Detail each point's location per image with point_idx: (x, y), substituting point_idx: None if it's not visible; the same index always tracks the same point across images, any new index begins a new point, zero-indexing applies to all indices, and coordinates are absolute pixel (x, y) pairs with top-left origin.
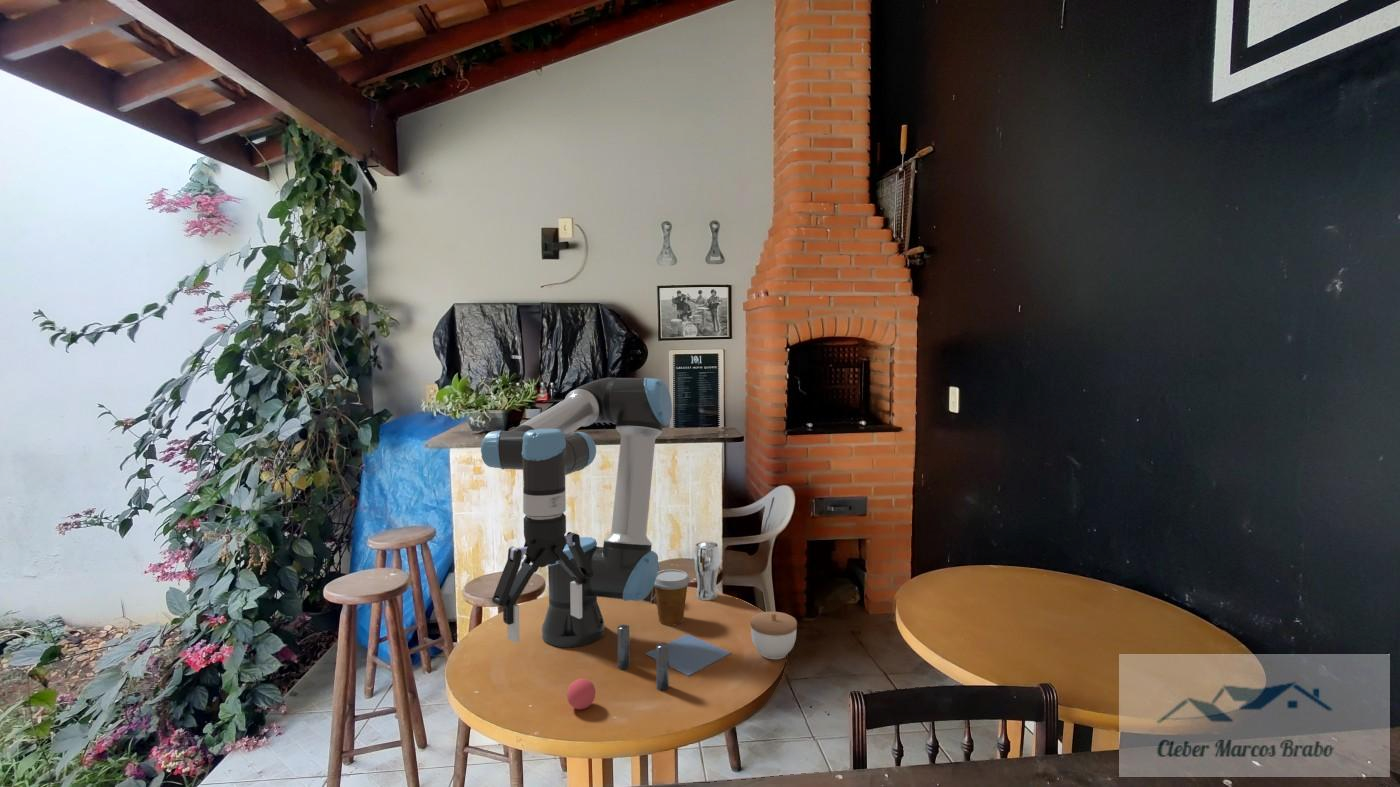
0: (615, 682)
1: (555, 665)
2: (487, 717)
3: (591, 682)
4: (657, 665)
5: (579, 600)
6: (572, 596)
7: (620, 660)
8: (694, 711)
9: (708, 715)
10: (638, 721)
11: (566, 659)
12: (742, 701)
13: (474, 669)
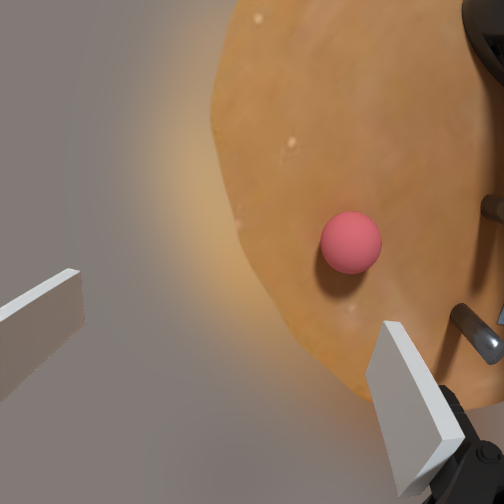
0: (443, 231)
1: (426, 76)
2: (212, 107)
3: (375, 259)
4: (471, 332)
5: (385, 431)
6: (405, 395)
7: (490, 210)
8: None
9: None
10: (359, 345)
11: (453, 82)
12: None
13: None
